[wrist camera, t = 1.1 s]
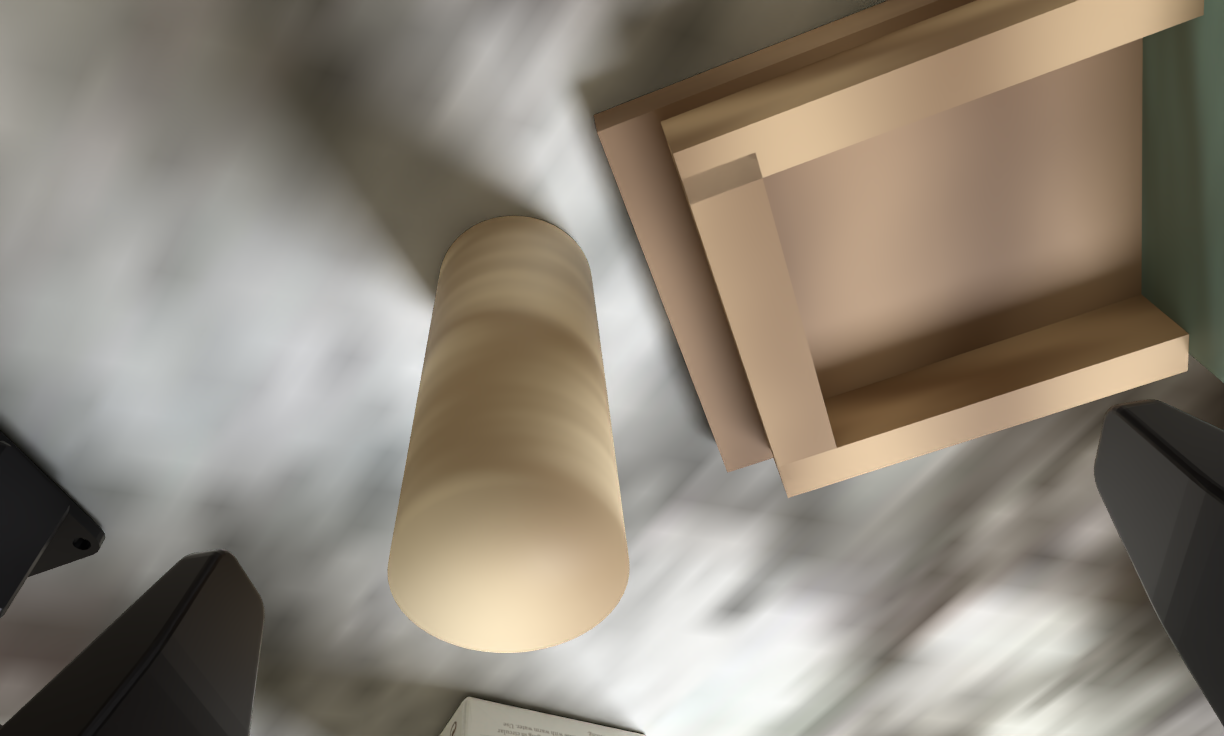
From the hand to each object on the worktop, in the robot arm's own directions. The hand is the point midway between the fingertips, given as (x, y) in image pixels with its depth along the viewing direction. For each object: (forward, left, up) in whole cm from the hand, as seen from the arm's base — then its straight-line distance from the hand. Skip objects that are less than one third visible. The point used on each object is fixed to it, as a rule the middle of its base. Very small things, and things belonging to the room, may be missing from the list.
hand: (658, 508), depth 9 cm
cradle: (+8, -6, -14) cm, 17 cm away
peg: (-3, -4, -14) cm, 14 cm away
